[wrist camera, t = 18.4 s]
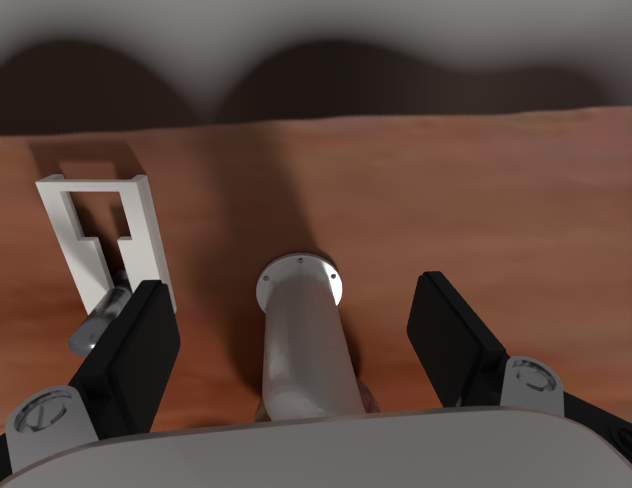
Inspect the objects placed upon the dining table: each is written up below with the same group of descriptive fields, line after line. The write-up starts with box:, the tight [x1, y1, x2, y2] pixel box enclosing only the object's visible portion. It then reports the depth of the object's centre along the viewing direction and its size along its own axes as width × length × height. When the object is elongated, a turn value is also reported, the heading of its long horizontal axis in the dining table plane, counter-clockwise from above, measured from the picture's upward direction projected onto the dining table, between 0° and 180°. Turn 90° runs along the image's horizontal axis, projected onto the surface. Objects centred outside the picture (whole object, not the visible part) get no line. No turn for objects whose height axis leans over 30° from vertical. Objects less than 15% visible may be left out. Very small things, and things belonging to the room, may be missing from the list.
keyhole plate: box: [35, 174, 177, 315], centre depth 39 cm, size 20×10×3 cm, turn 178°
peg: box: [67, 266, 133, 357], centre depth 37 cm, size 4×4×12 cm
